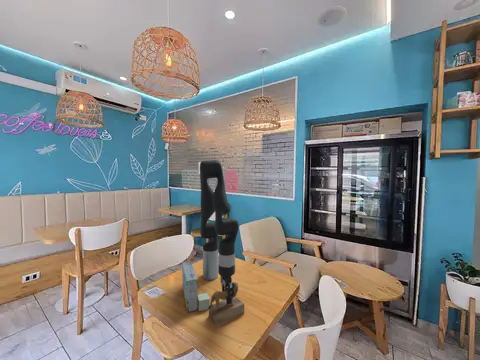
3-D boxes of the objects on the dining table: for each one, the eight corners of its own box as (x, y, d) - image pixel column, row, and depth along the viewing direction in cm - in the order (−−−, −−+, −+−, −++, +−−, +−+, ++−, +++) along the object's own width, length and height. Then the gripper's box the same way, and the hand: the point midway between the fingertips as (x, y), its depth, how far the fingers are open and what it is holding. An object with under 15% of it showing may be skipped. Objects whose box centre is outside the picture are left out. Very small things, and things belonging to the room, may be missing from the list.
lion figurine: (235, 297, 100) (235, 279, 100) (240, 303, 95) (240, 284, 95) (206, 307, 93) (206, 287, 93) (210, 314, 88) (210, 293, 88)
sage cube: (197, 305, 102) (197, 294, 102) (207, 302, 103) (207, 293, 103) (198, 311, 97) (198, 300, 97) (209, 309, 99) (209, 298, 98)
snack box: (181, 289, 115) (181, 262, 115) (192, 287, 117) (191, 260, 117) (186, 313, 96) (186, 280, 95) (198, 310, 98) (198, 278, 97)
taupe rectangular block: (208, 317, 94) (208, 306, 93) (233, 305, 102) (233, 295, 102) (218, 327, 87) (218, 316, 87) (244, 314, 96) (244, 303, 96)
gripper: (215, 257, 99) (215, 291, 100) (222, 271, 86) (222, 310, 86) (230, 255, 102) (230, 289, 102) (239, 268, 88) (239, 306, 89)
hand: (226, 298), depth 94 cm, fingers open, 7 cm apart
